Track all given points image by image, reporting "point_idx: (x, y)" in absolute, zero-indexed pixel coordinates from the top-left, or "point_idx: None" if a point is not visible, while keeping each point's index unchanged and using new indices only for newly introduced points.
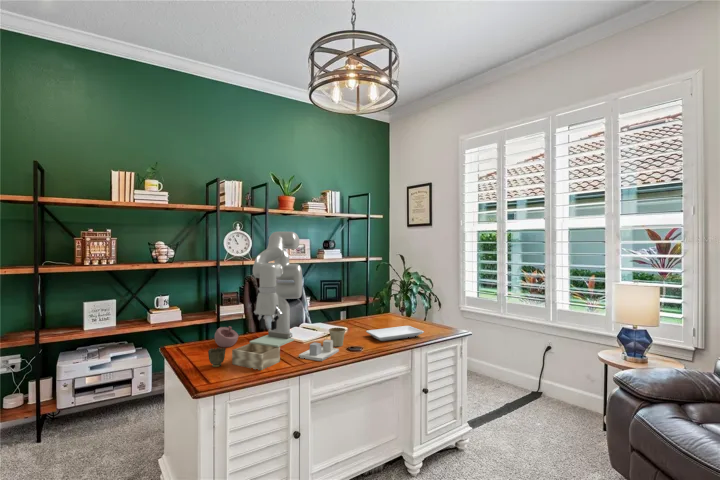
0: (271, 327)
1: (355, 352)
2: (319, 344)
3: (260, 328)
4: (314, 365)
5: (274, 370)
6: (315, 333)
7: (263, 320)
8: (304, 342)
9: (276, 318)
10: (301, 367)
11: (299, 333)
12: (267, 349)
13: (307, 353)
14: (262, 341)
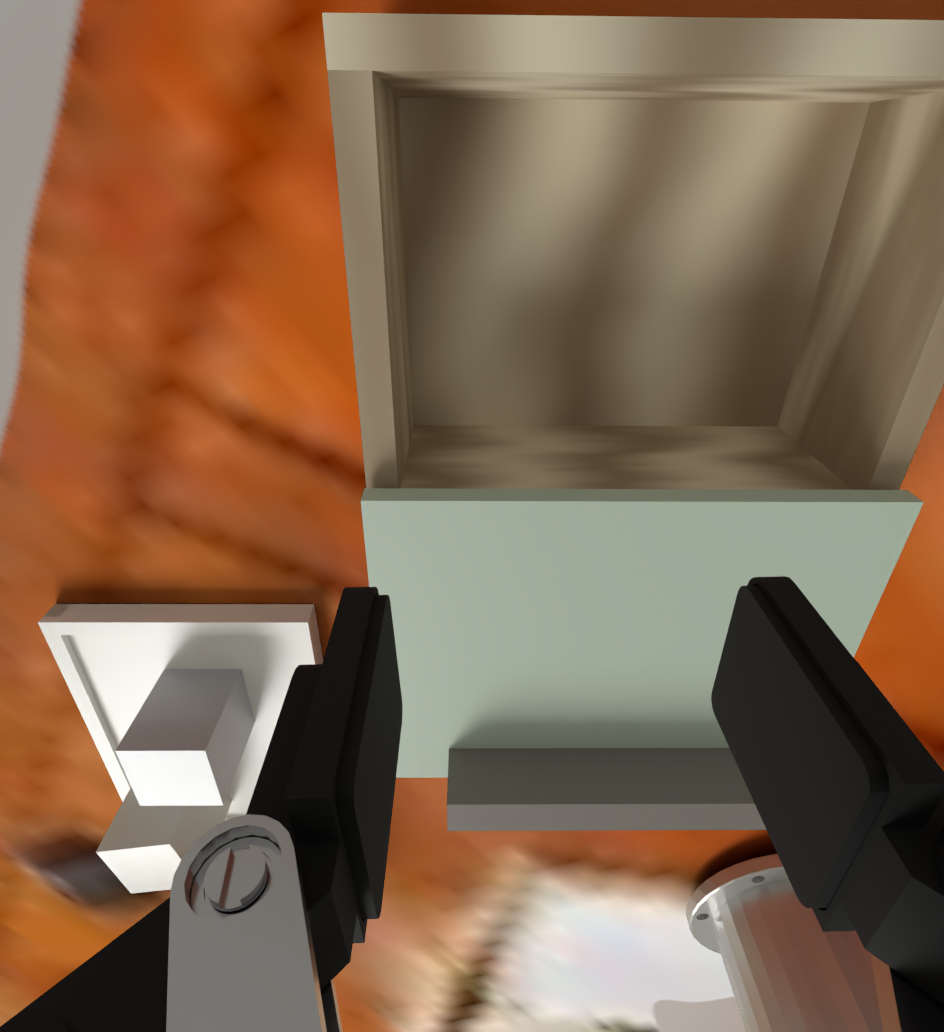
0: (359, 627)
1: (26, 829)
2: (134, 783)
3: (756, 581)
4: (8, 490)
5: (232, 157)
6: (574, 993)
7: (814, 855)
8: (531, 867)
9: (69, 995)
10: (60, 389)
11: (683, 970)
12: (562, 474)
13: (282, 684)
14: (711, 568)
